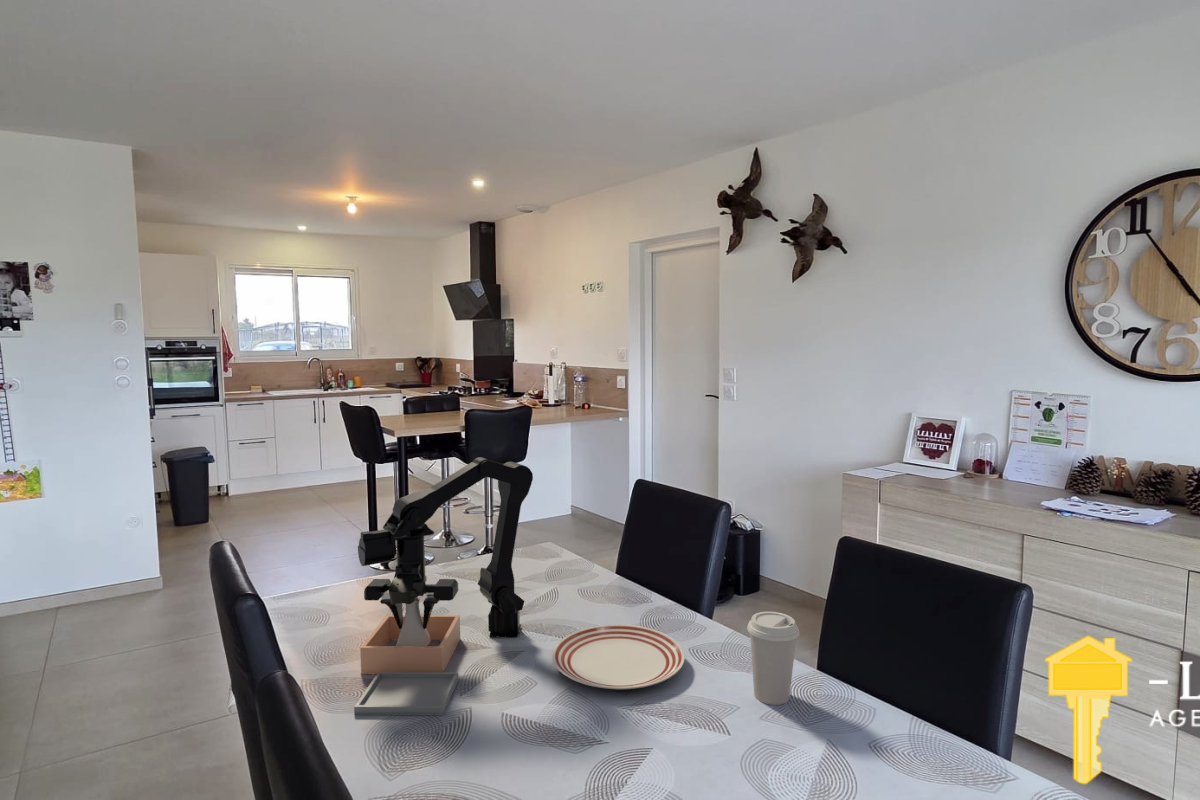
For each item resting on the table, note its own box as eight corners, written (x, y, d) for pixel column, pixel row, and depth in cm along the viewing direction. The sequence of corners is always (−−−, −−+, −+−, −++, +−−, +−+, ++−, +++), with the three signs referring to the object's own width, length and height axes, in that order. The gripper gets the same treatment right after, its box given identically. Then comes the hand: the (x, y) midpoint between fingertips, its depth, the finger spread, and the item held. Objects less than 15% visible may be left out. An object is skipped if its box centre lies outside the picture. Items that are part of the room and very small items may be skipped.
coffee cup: (769, 714, 124) (770, 634, 123) (735, 690, 133) (736, 615, 131) (808, 701, 129) (810, 624, 127) (773, 679, 137) (775, 606, 136)
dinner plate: (689, 703, 129) (689, 686, 128) (544, 699, 130) (544, 682, 130) (680, 639, 156) (680, 625, 156) (560, 636, 157) (560, 622, 157)
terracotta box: (460, 638, 156) (459, 615, 155) (442, 674, 139) (442, 648, 139) (387, 638, 156) (386, 615, 156) (361, 673, 140) (360, 647, 139)
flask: (421, 653, 143) (420, 606, 142) (389, 650, 145) (388, 604, 144) (436, 638, 150) (435, 594, 149) (406, 635, 152) (404, 591, 151)
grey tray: (458, 679, 137) (458, 672, 137) (442, 715, 124) (442, 707, 124) (378, 679, 137) (378, 672, 137) (354, 714, 124) (354, 706, 124)
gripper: (353, 569, 138) (355, 644, 139) (445, 570, 138) (447, 645, 139) (372, 552, 149) (374, 622, 150) (457, 552, 149) (459, 622, 150)
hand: (413, 628), depth 147 cm, fingers closed on flask, 5 cm apart
